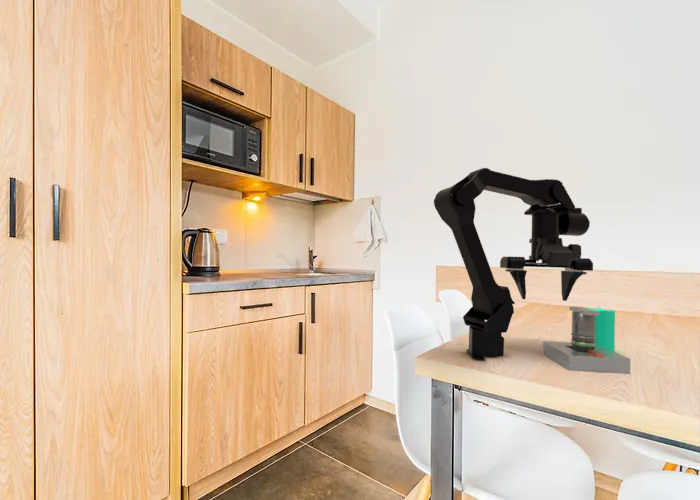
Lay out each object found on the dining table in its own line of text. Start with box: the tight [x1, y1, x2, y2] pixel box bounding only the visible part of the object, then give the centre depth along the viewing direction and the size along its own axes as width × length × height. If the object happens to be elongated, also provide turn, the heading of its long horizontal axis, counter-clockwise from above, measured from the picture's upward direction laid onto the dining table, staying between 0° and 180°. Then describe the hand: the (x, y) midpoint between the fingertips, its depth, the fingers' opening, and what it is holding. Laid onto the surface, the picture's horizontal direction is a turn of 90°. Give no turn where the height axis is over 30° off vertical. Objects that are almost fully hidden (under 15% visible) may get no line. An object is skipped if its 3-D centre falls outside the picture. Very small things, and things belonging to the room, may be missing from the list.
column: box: [568, 305, 599, 349], centre depth 71 cm, size 4×6×8 cm, turn 174°
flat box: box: [542, 340, 631, 375], centre depth 71 cm, size 16×16×4 cm
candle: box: [585, 302, 616, 353], centre depth 82 cm, size 6×6×12 cm
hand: (544, 299), depth 80 cm, fingers open, 9 cm apart
